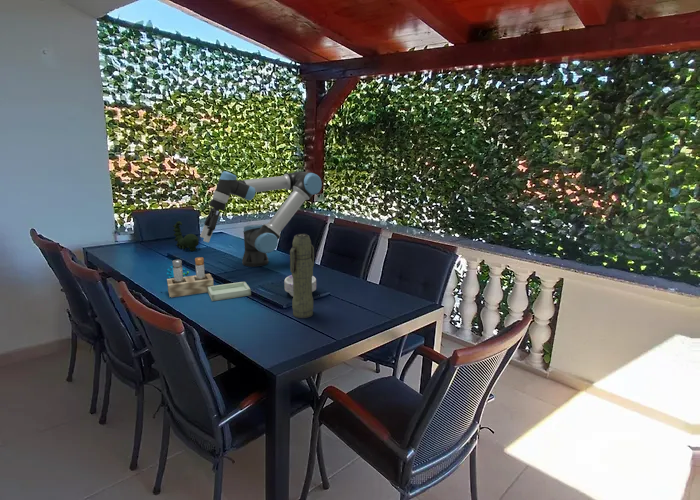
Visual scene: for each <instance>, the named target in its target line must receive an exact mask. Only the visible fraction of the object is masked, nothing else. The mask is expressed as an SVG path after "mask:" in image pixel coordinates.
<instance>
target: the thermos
mask: <svg viewBox="0 0 700 500" xmlns="http://www.w3.org/2000/svg"><path fill="white" fill-rule="evenodd" d="M314 267H315V247H314V245H313V244H312V240H311V238H310V235H308V234H307V233H297V234H295V235H294V236H293V239H292V247H291V248H290V250H289V268H290V273H291V275H292V277H293V296H292V297H293V298H292V301H291V303H292V304H291V307H292V315H293V316H294V317H295V318H298V319H307V318H310V317H312V316H313V315H314V298H313V292H312V276H314Z"/></svg>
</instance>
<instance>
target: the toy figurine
mask: <svg viewBox="0 0 700 500" xmlns="http://www.w3.org/2000/svg"><path fill="white" fill-rule="evenodd" d="M180 225H181V226H182V225H183V223H182V221H180V220H179V221H176V222H175V224H174V225H172V227H173V228H174V229H172V231H173V232H175V233H173V236H175V238H174V241H175V242H177V243H176V246H177V247H179V249H180V250H186V249H189V251H190V252H195V251H196V250H197V247H198V246H199V245H200V242H199V241H200V240H199V238H198V236H197V235H196V234H195V233H189V234H186V235H184V236H183V235H182V234H183V233H182V232H181V231H182V230H181V228H180Z"/></svg>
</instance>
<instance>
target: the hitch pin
mask: <svg viewBox="0 0 700 500" xmlns="http://www.w3.org/2000/svg"><path fill="white" fill-rule="evenodd" d="M204 259H205V258H204V257H202V256H201V257H200V256H197V257H195V258H194V264H195V265H194V266H195V275H196V278H197V280H204V279H205V274H206V272H205V260H204Z"/></svg>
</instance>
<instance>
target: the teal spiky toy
mask: <svg viewBox="0 0 700 500" xmlns="http://www.w3.org/2000/svg"><path fill="white" fill-rule="evenodd" d="M182 270H183V277H187V276H188V275H189V273H190V272H189V271H188V270H187V271H186V268H184V267H182ZM166 271H167V272H166V276H167V279H171V278H174V272H173V265H170V266H169V268H167V270H166Z"/></svg>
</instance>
